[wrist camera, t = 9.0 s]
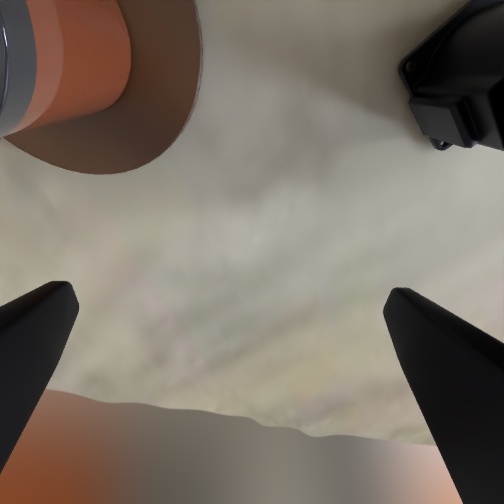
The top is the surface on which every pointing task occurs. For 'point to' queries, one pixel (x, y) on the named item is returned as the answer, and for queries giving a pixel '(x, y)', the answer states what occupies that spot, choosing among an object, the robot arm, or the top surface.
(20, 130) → the orange mug
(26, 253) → the top surface
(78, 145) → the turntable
